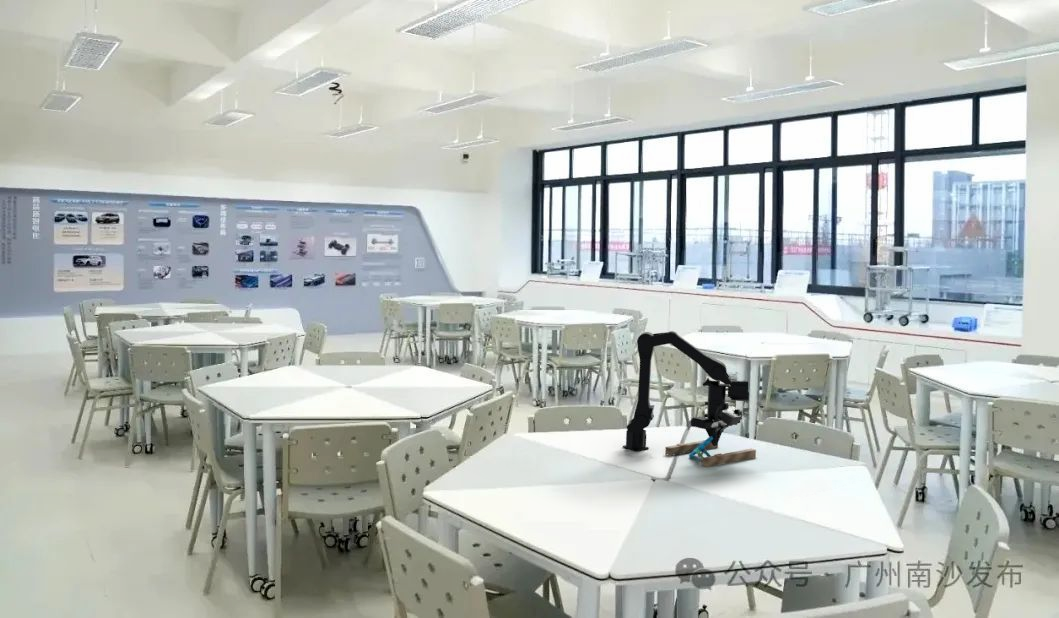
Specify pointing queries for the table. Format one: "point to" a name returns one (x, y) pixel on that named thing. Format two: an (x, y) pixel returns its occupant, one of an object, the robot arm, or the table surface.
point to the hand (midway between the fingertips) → (714, 445)
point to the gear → (702, 448)
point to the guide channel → (711, 459)
